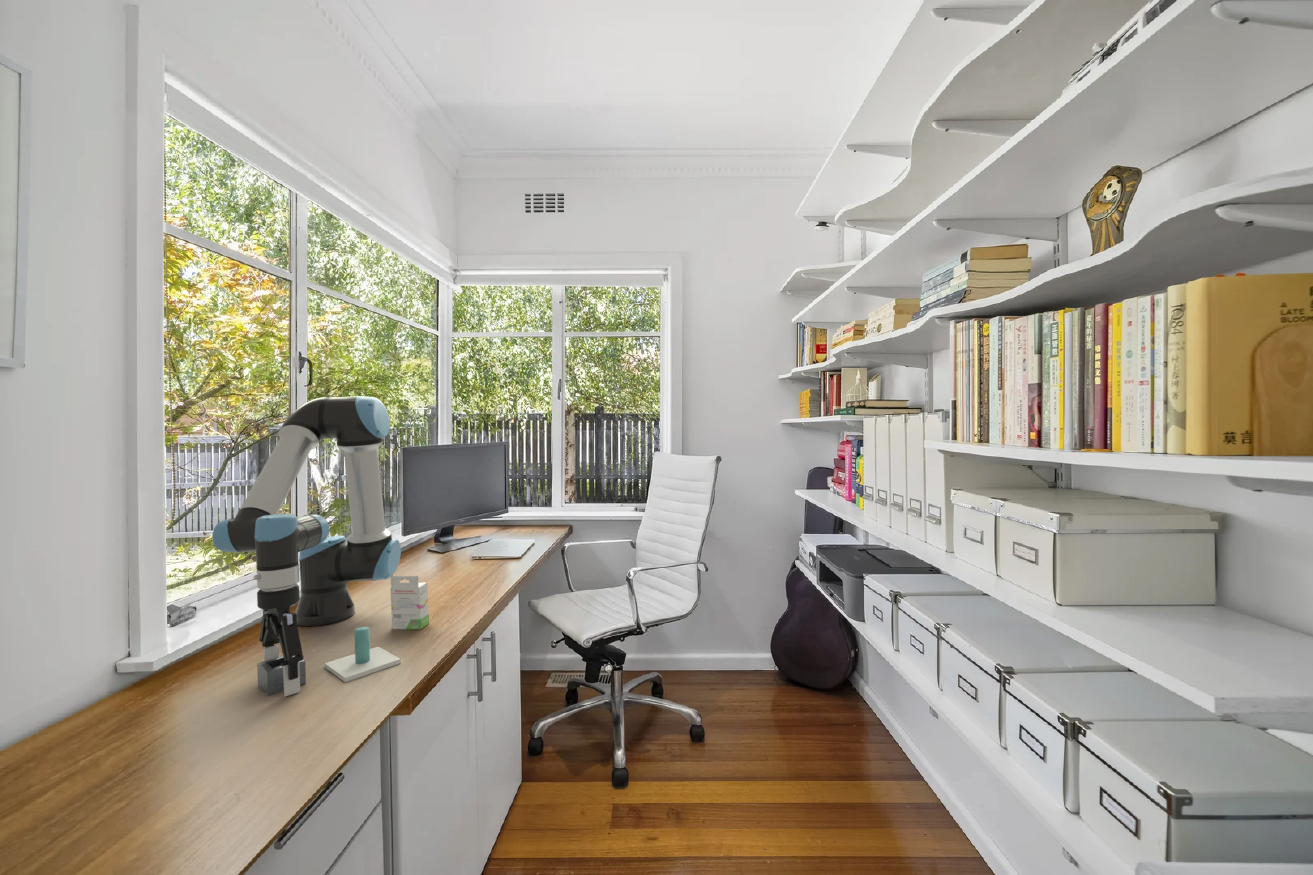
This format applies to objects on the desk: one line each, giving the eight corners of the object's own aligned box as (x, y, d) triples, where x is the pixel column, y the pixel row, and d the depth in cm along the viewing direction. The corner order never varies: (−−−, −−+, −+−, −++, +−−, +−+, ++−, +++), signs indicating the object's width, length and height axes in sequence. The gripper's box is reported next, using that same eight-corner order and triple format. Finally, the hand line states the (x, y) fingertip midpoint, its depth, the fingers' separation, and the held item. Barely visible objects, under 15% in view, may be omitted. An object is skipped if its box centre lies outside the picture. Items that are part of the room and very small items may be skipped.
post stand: (324, 667, 127) (323, 631, 127) (378, 650, 136) (377, 616, 136) (345, 682, 119) (343, 643, 119) (400, 663, 128) (399, 627, 128)
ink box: (430, 623, 155) (428, 571, 154) (420, 629, 150) (419, 576, 149) (401, 622, 155) (399, 571, 155) (390, 629, 150) (389, 576, 150)
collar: (258, 685, 118) (257, 663, 118) (295, 674, 124) (294, 652, 124) (267, 695, 114) (267, 671, 114) (306, 683, 119) (305, 660, 119)
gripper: (241, 581, 123) (244, 674, 124) (276, 601, 107) (279, 709, 108) (280, 573, 129) (283, 663, 130) (319, 592, 113) (322, 694, 113)
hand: (281, 684), depth 119 cm, fingers open, 13 cm apart
